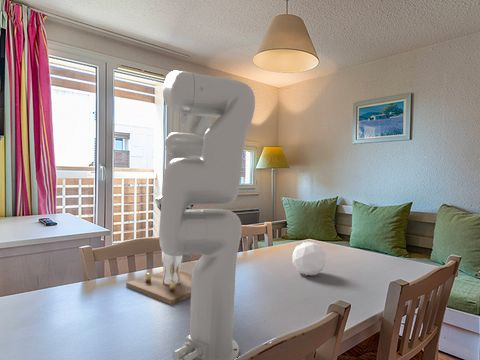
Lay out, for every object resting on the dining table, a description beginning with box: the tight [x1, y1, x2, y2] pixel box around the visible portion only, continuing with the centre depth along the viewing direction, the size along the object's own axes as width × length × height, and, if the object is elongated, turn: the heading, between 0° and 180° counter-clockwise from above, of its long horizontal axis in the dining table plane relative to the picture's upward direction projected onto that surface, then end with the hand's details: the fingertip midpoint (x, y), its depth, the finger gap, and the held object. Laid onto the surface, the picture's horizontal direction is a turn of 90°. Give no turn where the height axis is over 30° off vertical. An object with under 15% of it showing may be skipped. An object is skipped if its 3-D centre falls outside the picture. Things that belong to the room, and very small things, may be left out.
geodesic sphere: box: [291, 240, 327, 276], centre depth 127 cm, size 14×14×14 cm
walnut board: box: [125, 268, 192, 306], centre depth 108 cm, size 22×22×4 cm
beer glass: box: [161, 250, 183, 286], centre depth 106 cm, size 7×7×15 cm
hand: (176, 222), depth 107 cm, fingers open, 9 cm apart
